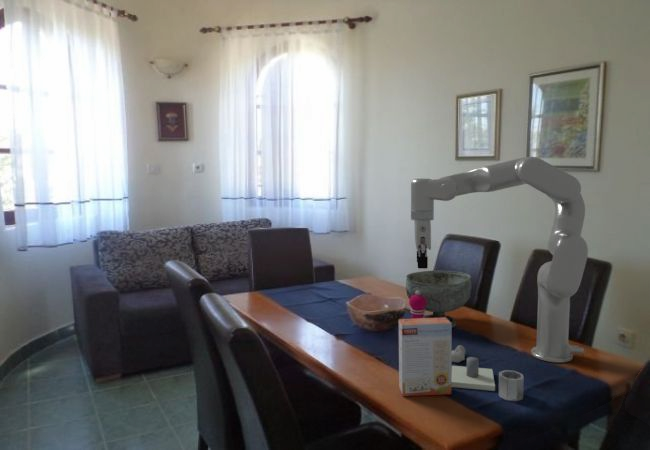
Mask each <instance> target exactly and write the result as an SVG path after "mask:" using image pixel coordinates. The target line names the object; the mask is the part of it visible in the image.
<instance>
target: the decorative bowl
mask: <svg viewBox="0 0 650 450" xmlns="http://www.w3.org/2000/svg"><path fill="white" fill-rule="evenodd" d="M405 277H406V281H405V285H406V286H405V291H406V296H407V297H408V300H410V298H411V297H412V296H413V295H416V294H415V292H416V291H420V295H422V296H424V297H425V299H426V306H425V307H424V309H425V312H430V313H432V314H427V315H425V316H423V318H444V317H446V318H447V319H448V320H449V321H450V322H451V323H452V328H454V327H456V325H457V323H456V320H455V319H454V318H453V316H450V315H446V314H445V313H447V312H448V313H450V312H452V311H456V310H458V309H460V308H462V307H464V305H465V304H466V303H468V301H469V300H470V298H471V293H472V279H471V278H472V276H471V275H470V274H469V273H465V272H461V271H455V270H454V271H453V270H439V269H438V270H423V271H416V272H411V273H408V274H406V276H405Z"/></svg>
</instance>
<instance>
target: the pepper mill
mask: <svg viewBox="0 0 650 450" xmlns="http://www.w3.org/2000/svg"><path fill="white" fill-rule="evenodd" d="M415 294H416V295H413V296H412V297H411V298H410V299H408V301H409V302H408V303H409V306H410V314H411V319H417V318H423V317H424V315H425V313H426V311H425V309H424V307H425V306H426V299H425V297H424V296H422V295H420V291H416V292H415Z"/></svg>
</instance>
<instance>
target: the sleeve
mask: <svg viewBox="0 0 650 450" xmlns="http://www.w3.org/2000/svg"><path fill="white" fill-rule="evenodd" d="M524 381H525V379H524V374H523V373H521V372H519V371H516V370H508V369H504V370H502V371H501V370H500V371H499V372H498V397H499V398H501V399H503V400H505V401H511V402H519V401H522V400H523V399H524V387H525V386H524V385H525V384H524Z"/></svg>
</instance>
